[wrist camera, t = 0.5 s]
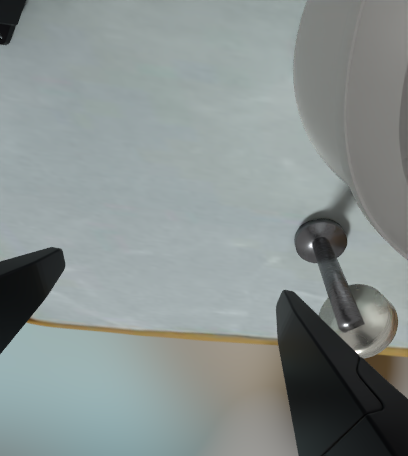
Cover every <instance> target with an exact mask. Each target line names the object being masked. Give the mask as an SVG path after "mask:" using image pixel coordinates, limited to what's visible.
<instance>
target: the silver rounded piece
mask: <svg viewBox="0 0 408 456" xmlns="http://www.w3.org/2000/svg"><path fill="white" fill-rule="evenodd" d="M294 241H295V247H296V250H297V253H298V254H299V256H300V257H301V258H303V259H304V260H306V261H308V262H312V263H318V266H319V269H320V272H321V275H322V278H323V281H324V284H325V288H326V291H327V294H328V297H329V298H328V299H327V300H326V301H325V303H324V304H323V306H322V308H321V310H320V313H319V317H320V318H321V319H322V320H323V321H324V322H325V323H326V324H328V325H329V326H330V327H331V328H332V329H333V330H334V331H335V332H336V333H337V334H338V335H339V336H340V337H341V338H342V339H343V340H344V341H345V342H346V343H347V344H348V345H349V346H350V347H351V348H352V349H353V350H354V351H355V352H357V353H358V354H359V356H360V357H362V358H368V357H371V356H374V355H376V354H378V353H380V352H381V351H383V350H384V349H385V348H386V347H387V346H388V345H389V344H390V343H391V341H392V340H393V338H394V336H395V334H396V331H397V327H398V317H397V313H396V310H395V308H394V307H393V305H392V304H391V303H390V302H389V301H388V300H387V299H386V298H385V297H384V296H383V295H382V294H381V293H380V292H379V291H378V290H376V289H375V288H373V287H371V286H368V285H362V284H355V285H349V286H348V283H347V281H346V279H345V276H344V274H343V272H342V269H341V267H340V265H339V262H338V260H337V257H339V256H340V255H341V254H342V253H343V252H344V250H345V248H346V246H347V237H346V234H345V232H344V231H343V229H342V227H341V226H340V225H339V224H338V223H336V222H335V221H333V220H330V219H315V220H311V221H309V222H307V223H305V224H304V225H302V226H301V227H300V228H299V229H298V231H297V232H296V235H295V239H294Z"/></svg>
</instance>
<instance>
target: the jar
mask: <svg viewBox="0 0 408 456" xmlns="http://www.w3.org/2000/svg"><path fill="white" fill-rule="evenodd" d="M293 80H294V92H295V98H296V104H297V108H298V112H299V115H300V118H301V121H302V124H303V126H304V129H305V131H306V133H307V135H308V137H309V139H310V141H311V143H312V145H313V146H314V148H315V149H316V151H317V152H318V154H319V155H320V157H321V158H322V159H323V161H324V162H325V163H326V164H327V165H328V167H329V168H330V169H331V170H332V171H333V172H334V173H335V174H336V175H337V176H338V177H339V178H340V179H341V180H342V181H344V182H345V183H346V184H347V185H348V186H349V188H350V190H351V192H352V194H353V196H354V198H355V200H356V202H357V204H358V206H359V208H360V209H361V211H362V213H363V214H364V215H365V217H366V218H367V220H368V221H369V222H370V223H371V225H372V226H373V227H374V228H375V229H376V231H377V232H378V233H379V234H380V235H381V236H382V237H383V238H384V239H385V240H386V241H387V242H388V243H389V244H390V245H391V246H392V247H393V248H394V249H395V250H396V251H397V252H399V253H400V254H401V255H402V256H403V257H405V258H406V259H407V260H408V0H307V2H306V5H305V8H304V11H303V14H302V18H301V21H300V25H299V29H298V34H297V39H296V45H295V52H294V64H293Z"/></svg>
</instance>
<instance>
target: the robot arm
mask: <svg viewBox="0 0 408 456" xmlns="http://www.w3.org/2000/svg"><path fill="white" fill-rule="evenodd" d="M25 1H26V0H0V33H1V35H2V39H1V38H0V44H1V45H7V44H9V43H10V40H11V37H12V34H13V31H14V28H15V25H17V24H18V22H19V19H20V16H21V13H22V10H23V7H24V4H25ZM64 269H65V260H64V255H63V251H62V249H60V248H54V247H50V248H46V249H43V250H39V251H36V252H32V253H29V254H25V255H22V256H18V257H15V258H11V259H8V260H4V261H1V262H0V354H1V353H2V351H3V350H4V349H5V348H6V347H7V345H8V344H9V343H10V342H11V340H12V339H13V338H14V336H15V335H16V334H17V333H18V332H19V330H20V329H21V328H22V327H23V326H24V324H25V323H26V322H27V321H28V320H29V318H30V317H31V316H32V315H33V313H34V312H35V311H36V310H37V308H38V307H39V306H40V305H41V304H42V302H43V301H44V300H45V298H46V297H47V296H48V294H49V293H50V291H51V290H52V288H53V286H54V285H55V283H56V282H57V280H58V279H59V277H60V276H61V274H62V272H63V271H64ZM276 317H277V335H278V345H279V351H280V356H281V361H282V367H283V373H284V378H285V383H286V389H287V395H288V400H289V405H290V411H291V416H292V422H293V427H294V432H295V438H296V443H297V448H298V454H299V456H408V399H407V398H406V397H405V396H404V395H403V394H402V393H400V392H399V391H398V390H397V389H396V388H395V387H394V386H392V385H391V384H390V383H389V382H388V381H387V380H385V379H384V378H383V377H382V376H381V375H380V374H379V373H378V372H377V371H376V370H375V369H374V368H373V367H371V366H370V365H369V364H368V363H367V362H366V361H365V360H364V359H363V358H362V357H360V356H359V354H358V353H357V352H355V351H354V350H353V349H352V348H351V347H350V346H349V345H348V344H347V343H346V342H345V341H344V340H343V339H342V338H341V337H340V336H339V335H338V334H337V333H336V332H335V331H334V330H333V329H332V328H331V327H330V326H329V325H328V324H326V323H325V322H324V321H323V320H322V319H321V318H320V317H319V316H318V315H317V314H316V313H315V312H314V311H313V310H312V309H311V308H310V307H309V306H308V305H307V304H306V303H305V302H304V301H303V300H302V299H301V298H300V297H299V296H298V295H296V294H295V293H294V292H293V291H288V290H283V291H282V293H281V295H280V298H279V300H278V302H277V306H276Z"/></svg>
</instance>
